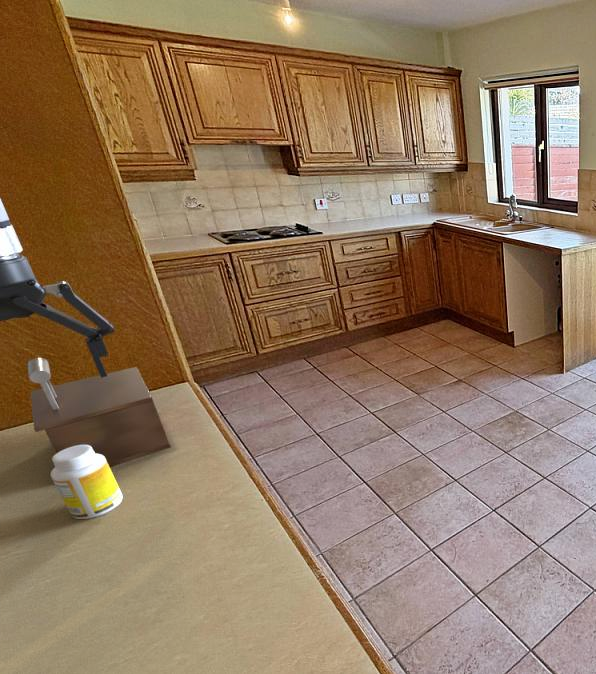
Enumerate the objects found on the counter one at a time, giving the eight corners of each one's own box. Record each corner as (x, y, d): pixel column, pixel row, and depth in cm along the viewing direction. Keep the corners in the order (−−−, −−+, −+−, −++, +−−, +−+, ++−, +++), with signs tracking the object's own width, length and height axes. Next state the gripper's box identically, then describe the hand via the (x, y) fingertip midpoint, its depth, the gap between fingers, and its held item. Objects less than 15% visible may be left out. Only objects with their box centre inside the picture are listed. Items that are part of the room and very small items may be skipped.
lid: (35, 432, 72) (12, 387, 69) (32, 394, 81) (11, 353, 78) (153, 400, 81) (137, 359, 78) (137, 369, 90) (123, 331, 87)
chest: (70, 480, 76) (44, 430, 72) (62, 439, 86) (40, 393, 82) (171, 447, 85) (153, 400, 81) (154, 413, 94) (137, 369, 91)
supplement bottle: (129, 490, 75) (105, 437, 71) (116, 514, 71) (90, 459, 66) (81, 500, 73) (54, 446, 69) (64, 526, 68) (34, 469, 64)
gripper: (-174, 278, 57) (-81, 426, 66) (106, 250, 75) (151, 371, 83) (-161, 266, 62) (-76, 406, 70) (100, 242, 79) (143, 357, 88)
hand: (47, 387), depth 77 cm, fingers open, 12 cm apart
